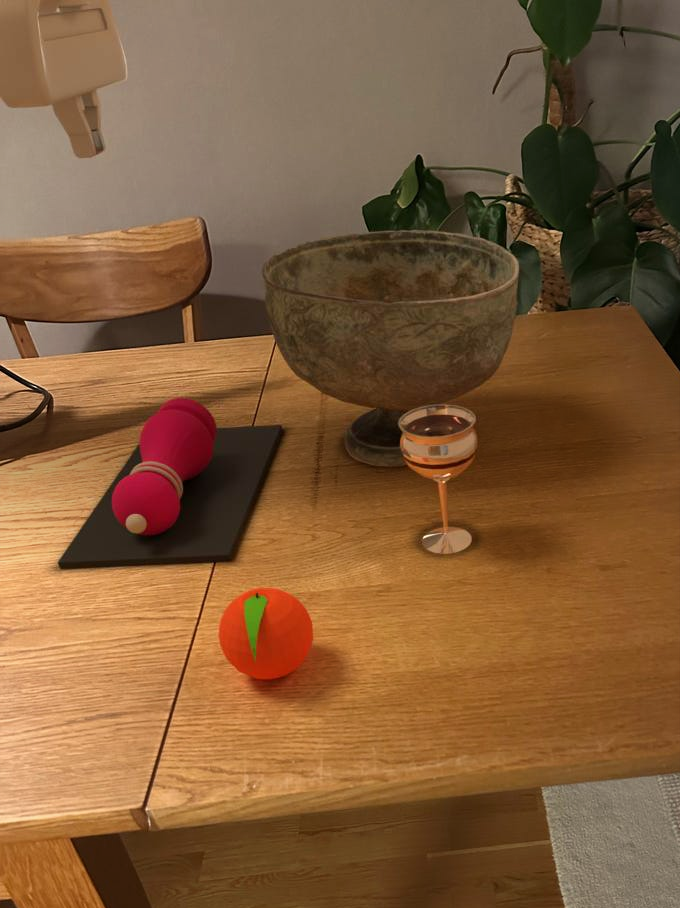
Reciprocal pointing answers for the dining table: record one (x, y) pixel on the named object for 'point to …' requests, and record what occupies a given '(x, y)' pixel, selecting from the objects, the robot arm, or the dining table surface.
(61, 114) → the robot arm
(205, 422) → the pepper mill
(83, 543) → the mat
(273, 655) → the clementine
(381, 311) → the decorative bowl
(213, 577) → the dining table surface
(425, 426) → the wineglass
